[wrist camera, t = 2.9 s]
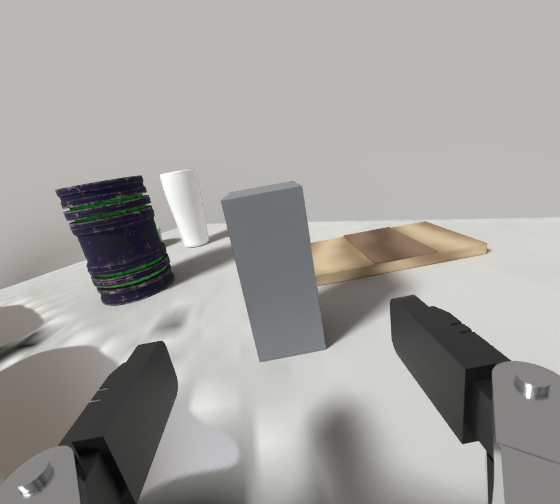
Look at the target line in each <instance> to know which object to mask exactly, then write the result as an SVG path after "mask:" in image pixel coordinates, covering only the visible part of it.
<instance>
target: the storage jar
mask: <svg viewBox="0 0 560 504" xmlns="http://www.w3.org/2000/svg"><path fill="white" fill-rule="evenodd" d="M55 191H56V193H57V196H58V197H60V199H61V205H62V208H63V209H64V208H70V211H66V212H64V214H65V217H66V220H67V221H71V220H75V221H74V222H71V223H69V225H70V227H71V230H72V232H73V234H74V235H75V236H77V237H78V240H79V242H80V245H81V247H82V249H83V252H84V254H85V256H86V258H87V261H88V263H87V268H88V272H89V273H90V275H92V276H91V279H92V281H93V283H94V286H96V287H97V290H98V292H99V293H100V294H101V300H102V302H103V303H104V304H105V305H110V306H115V305H123V304H128V303H132V302H136V301H139V300H142V299H145V298H147V297H150V296H152V295H154V294H157V293H158V292H160V291H162V290H164V289H165V288H167V287H168V286H170V285H171V284H172V283H173V281H174V279H175V278H174V275H173V273H172V272H171V265H170V264H169V263H170V260H169V256H168V254H167V253H166V247H165V245H164V243H163V242H161V240H160V237H159V234H158V231H157V227H156V225H155V221H154V212H153V211H154V210H153V209H152V206H151V205H148V206H146V204H149V203H151V201H150V197H149V195H144V196H143V194H142V193H146V192H147V191H146V188H145V187H144V185H143V178H142V176H132V177H125V178H118V179H112V180H106V181H100V182H94V183H89V184H83V185H77V186H72V187H67V188H62V189H58V190H55Z"/></svg>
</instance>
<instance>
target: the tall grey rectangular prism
mask: <svg viewBox="0 0 560 504" xmlns="http://www.w3.org/2000/svg"><path fill="white" fill-rule="evenodd" d="M221 204H222V208H223V212H224V216H225V220H226V224H227V229H228V233H229V237H230V241H231V245H232V249H233V253H234V258H235V262H236V266H237V270H238V274H239V278H240V282H241V287H242V291H243V295H244V299H245V303H246V307H247V311H248V316H249V320H250V324H251V328H252V332H253V336H254V340H255V345H256V349H257V353H258V357H259V361H260V362H263V361H268V360H273V359H279V358H284V357H289V356H294V355H299V354H305V353H310V352H315V351H320V350H325V349H326V345H325V338H324V331H323V324H322V318H321V311H320V304H319V297H318V290H317V284H316V277H315V270H314V263H313V257H312V250H311V243H310V236H309V229H308V223H307V216H306V209H305V202H304V197H303V189H302V186H301V185H300V184H298V183H296V182H294V181H290V182H284V183H279V184H273V185H269V186H263V187H257V188H252V189H247V190H241V191H236V192H230V193H229V194H228V195H227V196H226V197H225V198H223V199H222V200H221Z"/></svg>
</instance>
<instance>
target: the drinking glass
mask: <svg viewBox="0 0 560 504" xmlns="http://www.w3.org/2000/svg"><path fill="white" fill-rule="evenodd" d="M160 179H161V183H162V186H163V189H164V193H165V196H166V199H167V201H168V204H169V206H170V209H171V211H172V214H173V216H174V219H175V221H176V224H177V226H178V229H179V232H180V234H181V237H182V240H183V243H184V246H185V247H189V248H191V247H198V246H201V245H204V244H206V243H207V242H208V241H209V235H208V231H207V226H206V221H205V216H204V210H203V203H202V198H201V192H200V188H199V183H198V180H197V176H196V173H195V170H194V169H188V170H182V171H177V172H171V173H166V174H161V175H160Z"/></svg>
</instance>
